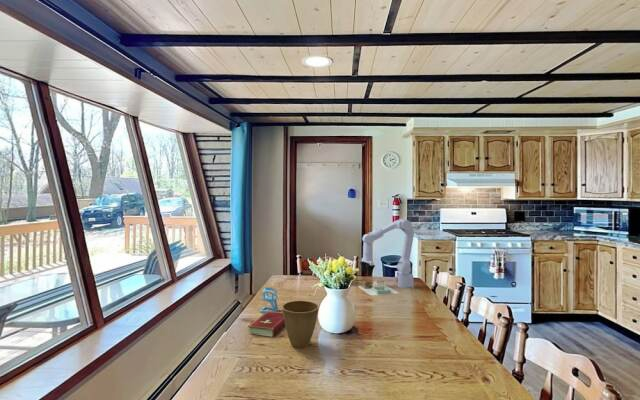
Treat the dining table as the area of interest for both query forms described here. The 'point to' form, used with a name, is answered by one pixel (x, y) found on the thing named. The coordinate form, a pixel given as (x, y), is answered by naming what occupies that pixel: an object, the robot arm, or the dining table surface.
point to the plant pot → (300, 321)
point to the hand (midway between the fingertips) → (367, 274)
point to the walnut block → (367, 284)
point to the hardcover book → (267, 324)
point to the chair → (270, 300)
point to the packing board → (379, 290)
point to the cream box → (378, 283)
